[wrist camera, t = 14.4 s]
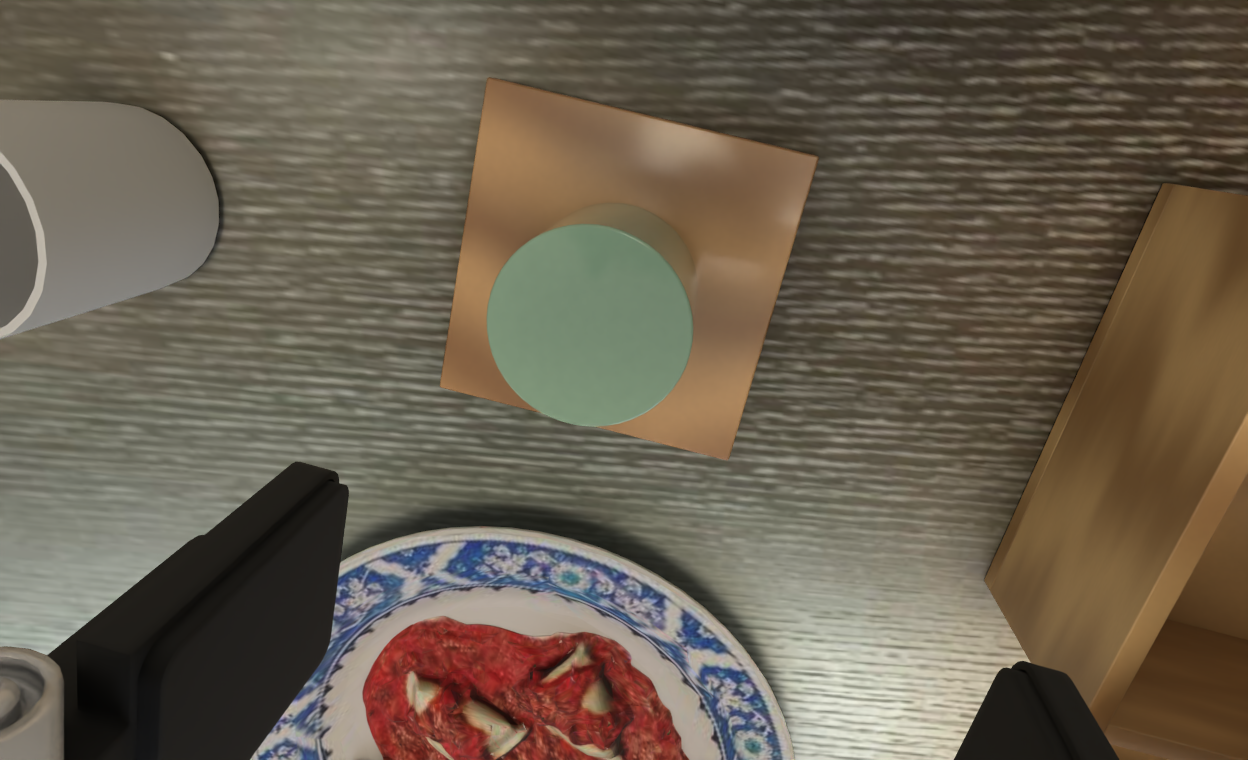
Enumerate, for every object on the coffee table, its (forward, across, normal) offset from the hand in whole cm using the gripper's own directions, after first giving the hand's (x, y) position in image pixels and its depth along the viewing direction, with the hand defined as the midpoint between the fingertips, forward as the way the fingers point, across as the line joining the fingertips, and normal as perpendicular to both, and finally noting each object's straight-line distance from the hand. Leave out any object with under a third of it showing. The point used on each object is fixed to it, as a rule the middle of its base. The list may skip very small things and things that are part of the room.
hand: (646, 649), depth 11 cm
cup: (+21, +24, +2) cm, 32 cm away
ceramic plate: (+21, +3, +23) cm, 31 cm away
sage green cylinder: (+20, +3, 0) cm, 20 cm away
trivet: (+21, +3, 0) cm, 21 cm away
